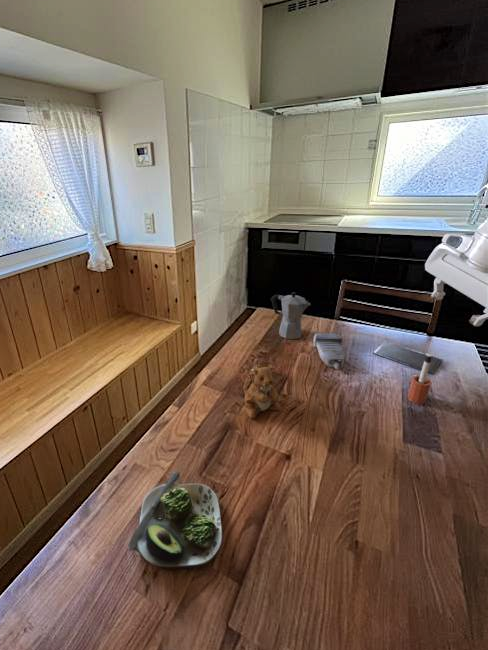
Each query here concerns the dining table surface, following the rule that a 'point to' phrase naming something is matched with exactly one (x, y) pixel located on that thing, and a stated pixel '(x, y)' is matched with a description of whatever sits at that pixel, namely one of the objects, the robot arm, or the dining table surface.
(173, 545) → the salad plate
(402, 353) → the tablet
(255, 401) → the stuffed squirrel
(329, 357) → the handheld device
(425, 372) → the stylus
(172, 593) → the dining table surface
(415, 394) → the pen cup
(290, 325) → the coffeepot
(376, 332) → the dining table surface
